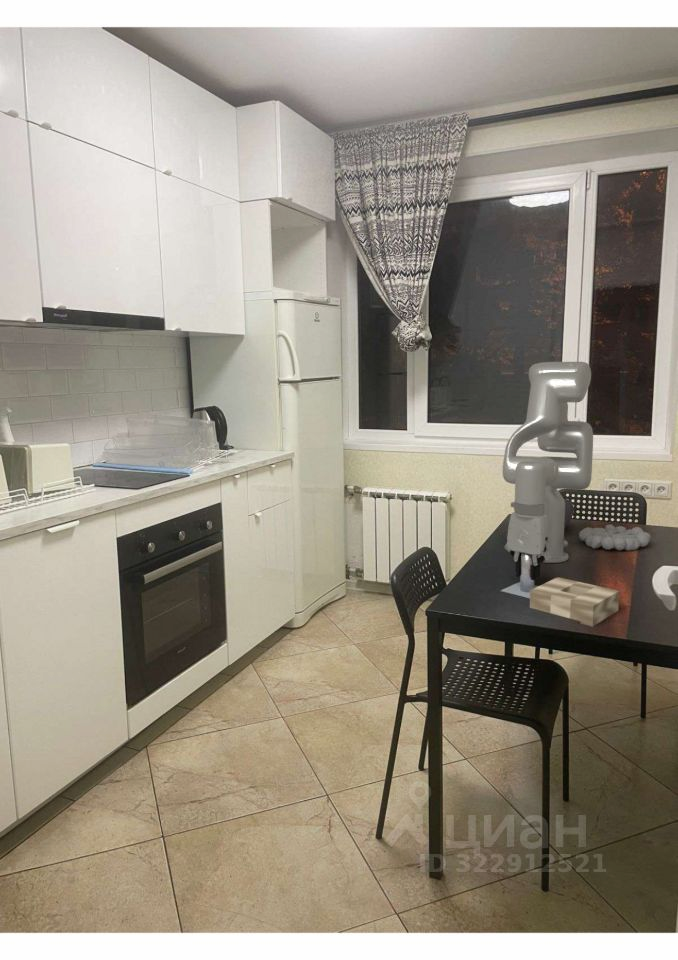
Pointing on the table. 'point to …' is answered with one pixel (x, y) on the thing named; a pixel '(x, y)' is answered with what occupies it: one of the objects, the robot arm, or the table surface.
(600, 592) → the hole block
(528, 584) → the peg
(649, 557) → the table surface
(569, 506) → the bluetooth speaker
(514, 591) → the mat
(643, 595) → the table surface
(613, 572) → the table surface
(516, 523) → the robot arm
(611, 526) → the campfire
